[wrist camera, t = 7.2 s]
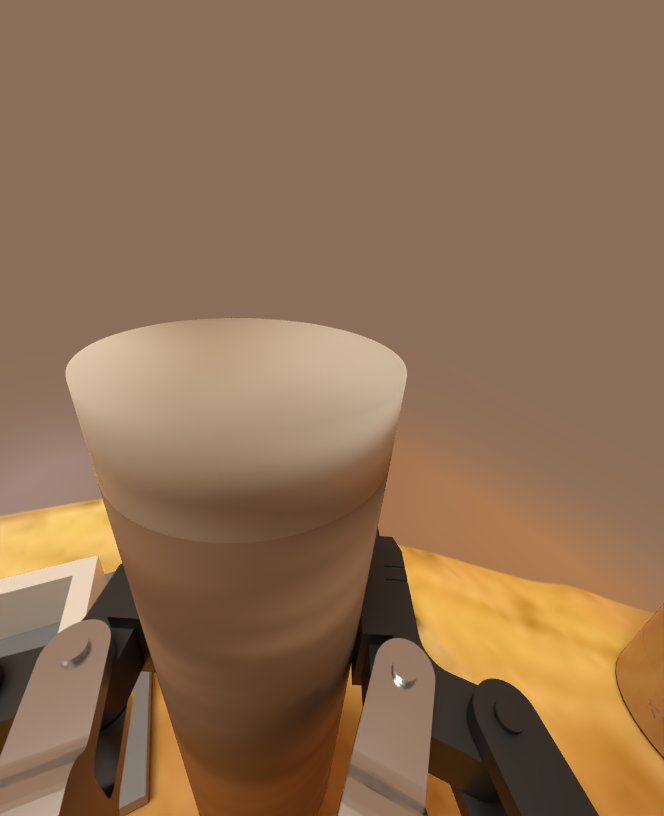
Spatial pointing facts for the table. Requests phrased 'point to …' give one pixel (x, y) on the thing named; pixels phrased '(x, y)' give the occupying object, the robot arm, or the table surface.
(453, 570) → the table surface
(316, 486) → the walnut post
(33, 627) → the post well
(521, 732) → the robot arm
